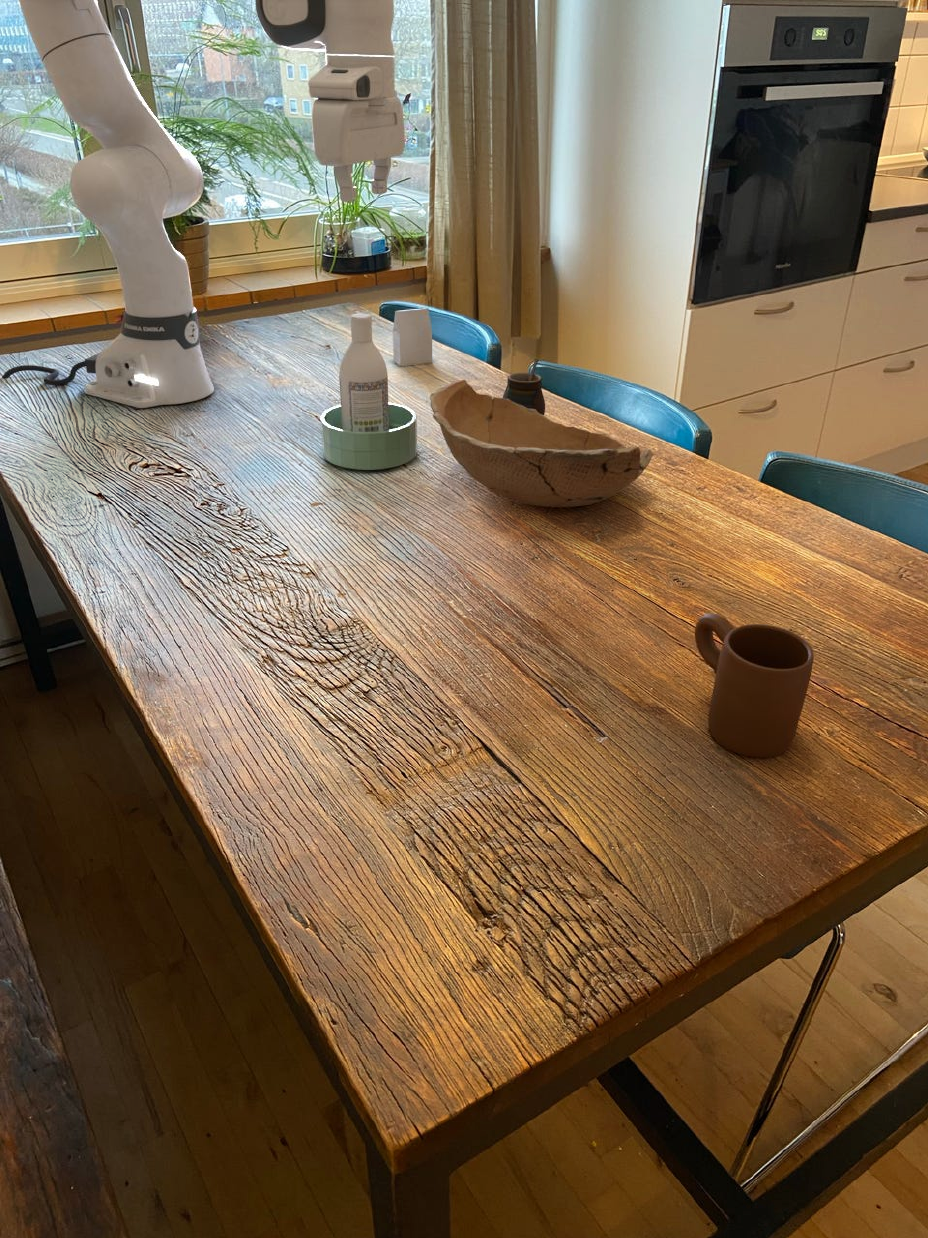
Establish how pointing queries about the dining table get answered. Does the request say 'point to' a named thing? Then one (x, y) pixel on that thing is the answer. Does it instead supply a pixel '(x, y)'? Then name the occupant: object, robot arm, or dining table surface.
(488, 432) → the ceramic bowl
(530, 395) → the mate gourd
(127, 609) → the dining table surface
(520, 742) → the dining table surface
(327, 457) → the green pet bowl
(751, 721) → the mug
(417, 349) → the white boxy piece
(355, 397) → the bath foam
